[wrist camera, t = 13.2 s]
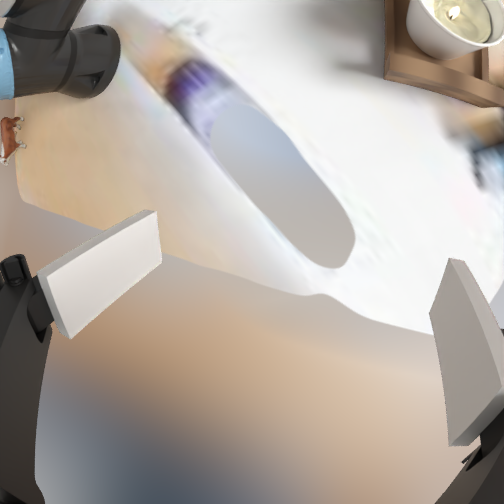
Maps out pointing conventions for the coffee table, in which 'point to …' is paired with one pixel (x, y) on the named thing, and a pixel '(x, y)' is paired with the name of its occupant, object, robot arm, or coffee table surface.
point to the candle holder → (455, 26)
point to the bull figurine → (9, 138)
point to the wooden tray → (435, 65)
